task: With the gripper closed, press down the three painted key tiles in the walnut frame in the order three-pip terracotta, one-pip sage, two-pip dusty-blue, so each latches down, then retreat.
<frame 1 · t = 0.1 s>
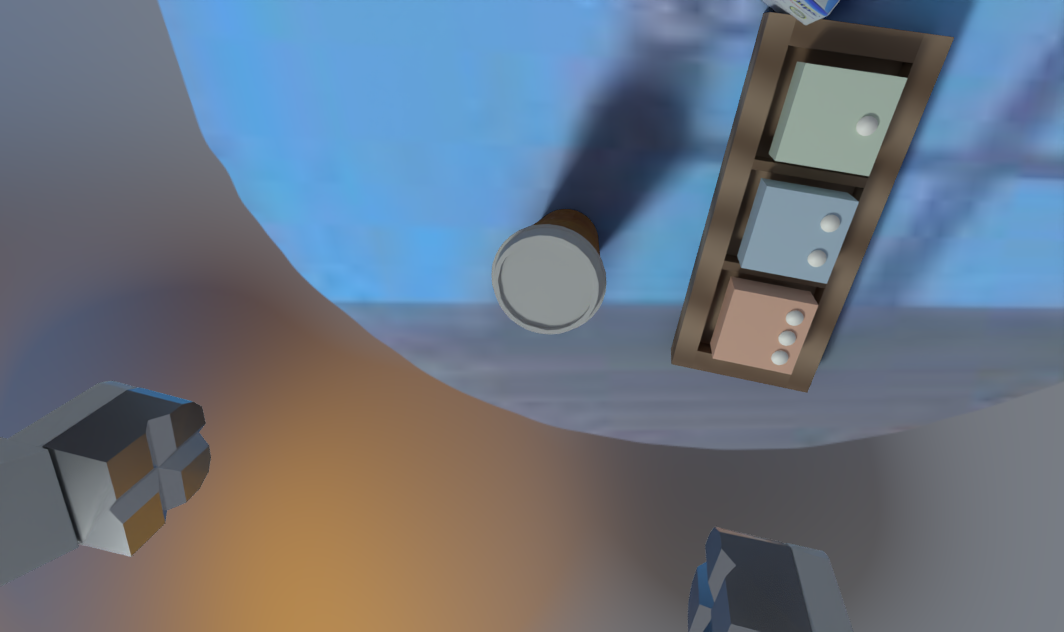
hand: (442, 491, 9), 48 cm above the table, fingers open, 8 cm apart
tile one: (833, 118, 44), point 4 cm above the table, slide at 0.0 cm
key frame: (784, 216, 52), on the table
tile three: (761, 325, 53), point 4 cm above the table, slide at 0.0 cm
tile two: (794, 231, 49), point 4 cm above the table, slide at 0.0 cm
disposable coffee cup: (566, 239, 58), on the table
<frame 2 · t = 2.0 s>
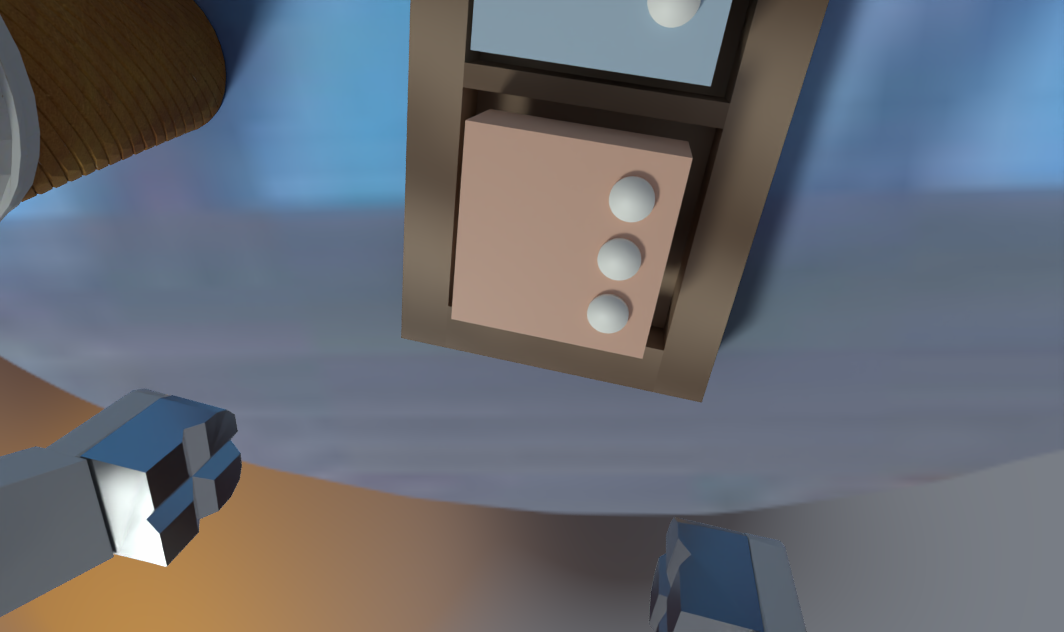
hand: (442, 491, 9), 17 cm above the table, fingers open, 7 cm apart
tile three: (565, 233, 21), point 4 cm above the table, slide at 0.0 cm
disposable coffee cup: (163, 56, 25), on the table
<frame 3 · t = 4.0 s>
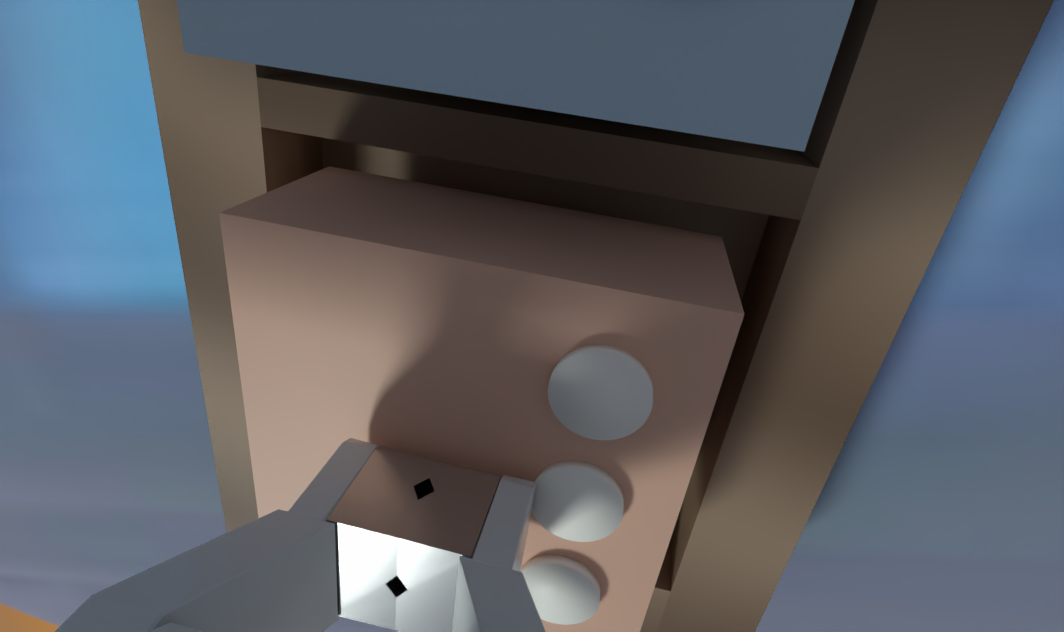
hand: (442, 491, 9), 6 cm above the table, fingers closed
tile three: (476, 415, 10), point 4 cm above the table, slide at 0.2 cm, touching gripper
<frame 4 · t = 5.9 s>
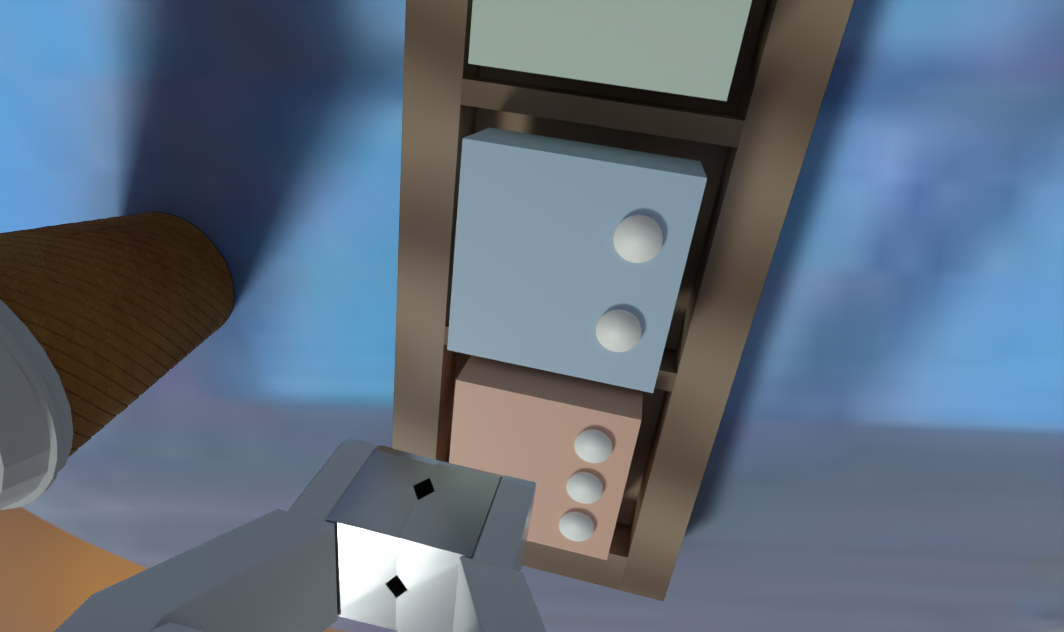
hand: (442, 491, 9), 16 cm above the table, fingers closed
key frame: (584, 225, 23), on the table
tile three: (541, 452, 24), point 3 cm above the table, slide at 1.4 cm
tile two: (569, 259, 19), point 4 cm above the table, slide at 0.0 cm
disposable coffee cup: (178, 274, 28), on the table
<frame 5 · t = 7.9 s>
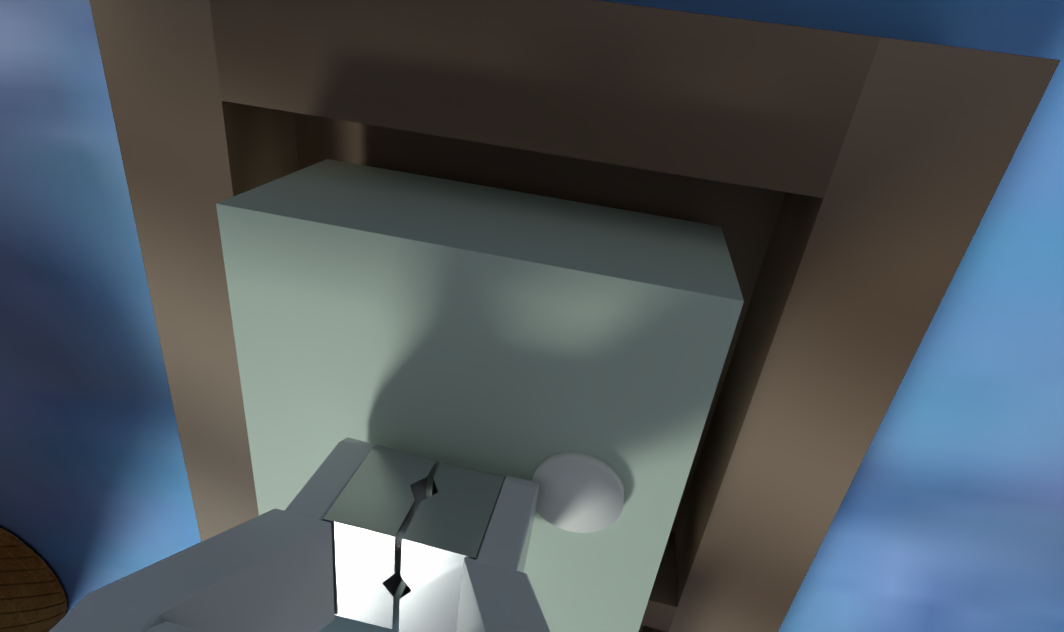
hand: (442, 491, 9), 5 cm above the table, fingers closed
tile one: (475, 407, 10), point 3 cm above the table, slide at 1.1 cm, touching gripper
key frame: (484, 588, 17), on the table
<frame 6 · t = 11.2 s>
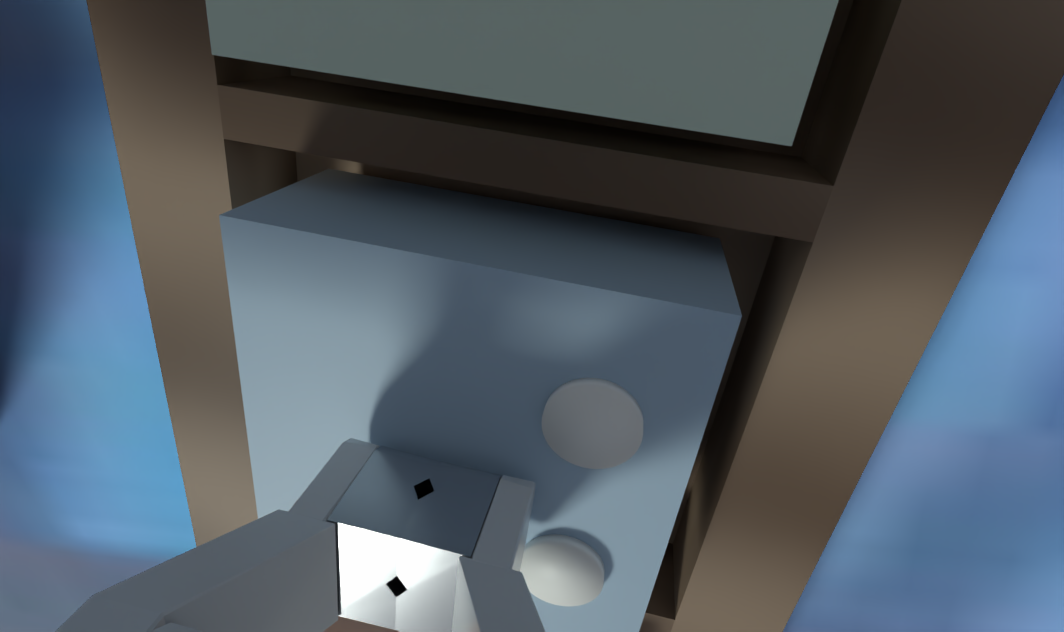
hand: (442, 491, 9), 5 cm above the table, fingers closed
key frame: (514, 334, 13), on the table
tile two: (475, 416, 10), point 3 cm above the table, slide at 1.2 cm, touching gripper
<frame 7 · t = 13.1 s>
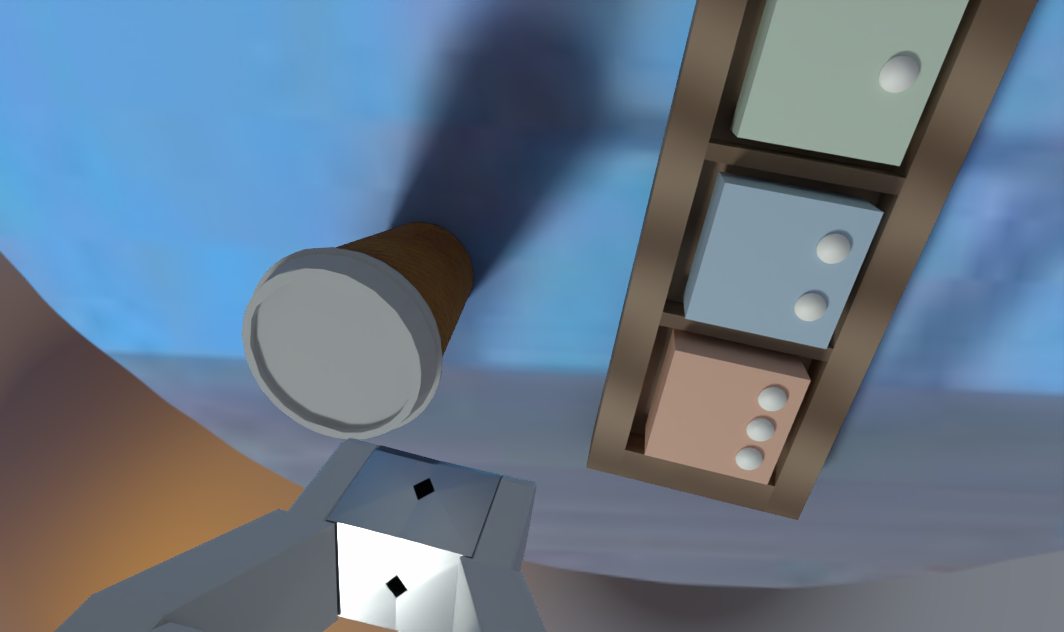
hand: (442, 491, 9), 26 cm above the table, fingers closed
tile one: (837, 65, 26), point 3 cm above the table, slide at 1.4 cm
key frame: (761, 241, 32), on the table
tile three: (720, 406, 33), point 3 cm above the table, slide at 1.4 cm
tile two: (772, 260, 29), point 3 cm above the table, slide at 1.1 cm
disposable coffee cup: (426, 269, 37), on the table
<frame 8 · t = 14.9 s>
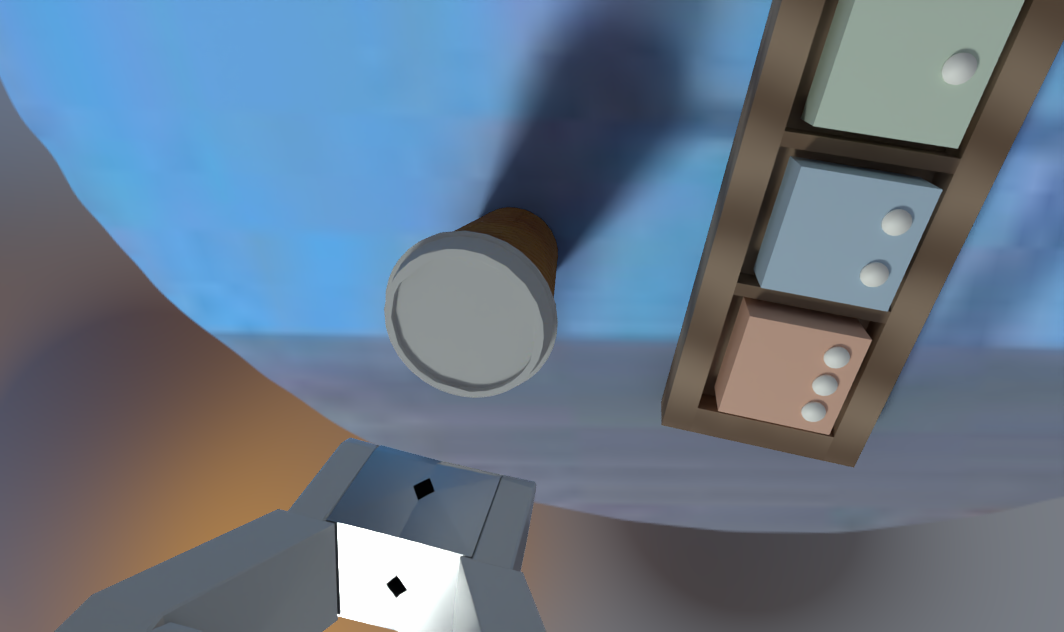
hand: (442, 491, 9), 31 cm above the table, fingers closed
tile one: (902, 61, 29), point 3 cm above the table, slide at 1.4 cm
key frame: (824, 217, 36), on the table
tile three: (786, 366, 37), point 3 cm above the table, slide at 1.4 cm
tile two: (839, 233, 33), point 3 cm above the table, slide at 1.1 cm
disposable coffee cup: (513, 250, 41), on the table
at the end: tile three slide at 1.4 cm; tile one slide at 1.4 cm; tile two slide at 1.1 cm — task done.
